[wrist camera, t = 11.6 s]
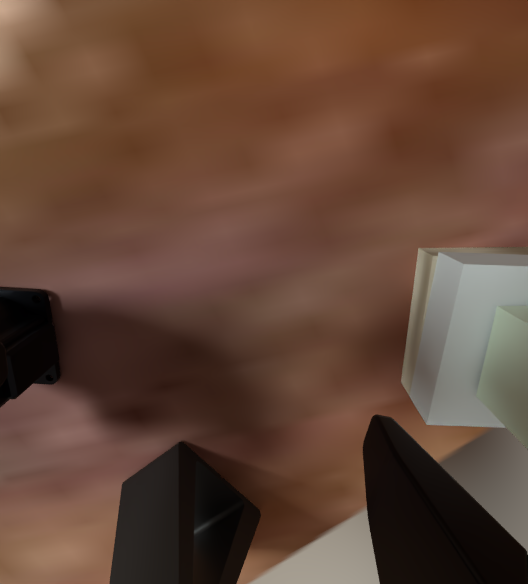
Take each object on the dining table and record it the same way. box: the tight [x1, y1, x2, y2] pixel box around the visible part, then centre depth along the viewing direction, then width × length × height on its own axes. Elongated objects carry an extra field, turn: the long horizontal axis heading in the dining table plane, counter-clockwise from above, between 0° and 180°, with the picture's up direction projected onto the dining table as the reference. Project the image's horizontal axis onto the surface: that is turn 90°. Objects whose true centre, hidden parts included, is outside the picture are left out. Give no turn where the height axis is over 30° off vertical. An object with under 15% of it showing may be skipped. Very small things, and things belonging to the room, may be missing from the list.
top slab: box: [409, 252, 528, 428], centre depth 19 cm, size 9×9×2 cm
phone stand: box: [110, 442, 261, 584], centre depth 21 cm, size 9×6×12 cm, turn 40°
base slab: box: [401, 247, 528, 395], centre depth 21 cm, size 9×9×2 cm
